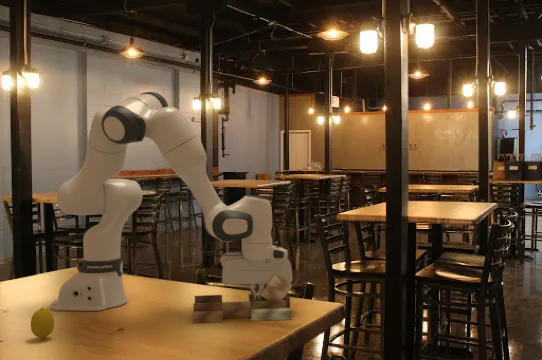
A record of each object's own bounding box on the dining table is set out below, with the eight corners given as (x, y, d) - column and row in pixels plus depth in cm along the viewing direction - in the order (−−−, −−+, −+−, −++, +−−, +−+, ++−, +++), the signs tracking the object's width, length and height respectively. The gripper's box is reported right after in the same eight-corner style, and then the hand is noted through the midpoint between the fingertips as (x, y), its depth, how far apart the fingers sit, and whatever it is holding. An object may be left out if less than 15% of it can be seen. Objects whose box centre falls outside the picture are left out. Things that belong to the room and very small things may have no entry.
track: (193, 323, 156) (192, 303, 155) (195, 308, 171) (195, 290, 171) (291, 319, 158) (291, 299, 158) (284, 304, 174) (284, 286, 174)
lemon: (35, 336, 146) (34, 305, 145) (57, 335, 146) (56, 304, 146) (27, 343, 140) (26, 311, 140) (51, 342, 141) (50, 310, 140)
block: (261, 295, 162) (274, 274, 162) (259, 290, 168) (272, 270, 168) (278, 306, 162) (292, 285, 163) (276, 301, 168) (289, 281, 168)
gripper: (220, 253, 160) (221, 302, 161) (293, 252, 162) (293, 300, 163) (220, 250, 167) (221, 297, 167) (290, 249, 168) (290, 295, 169)
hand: (257, 299), depth 165 cm, fingers closed
